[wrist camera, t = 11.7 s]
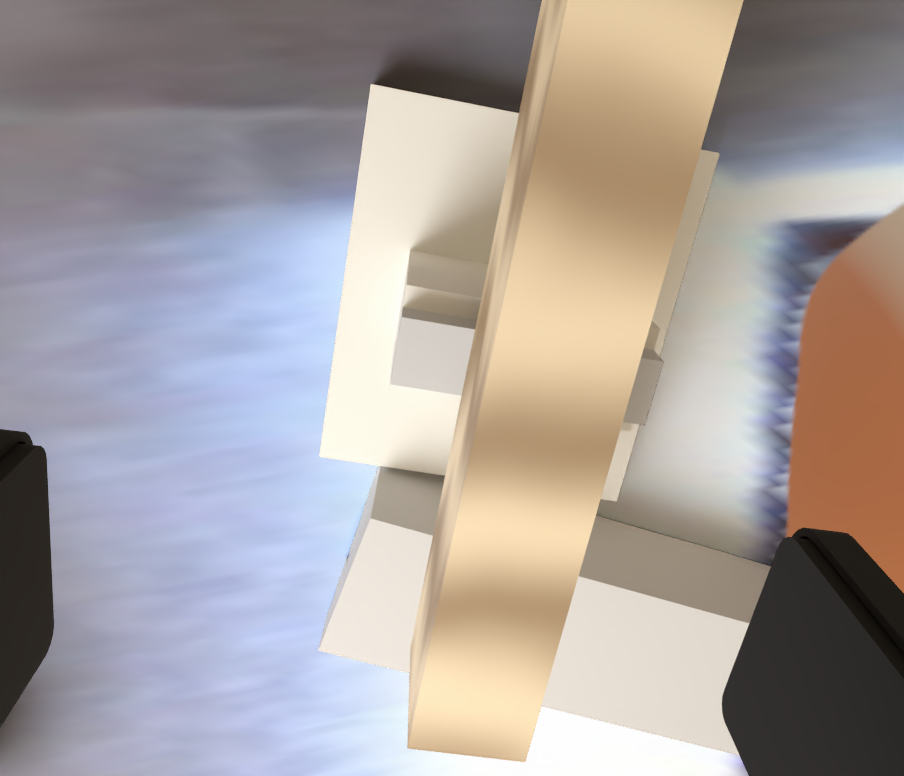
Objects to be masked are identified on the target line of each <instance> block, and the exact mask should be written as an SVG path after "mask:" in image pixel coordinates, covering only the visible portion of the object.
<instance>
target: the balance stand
mask: <svg viewBox="0 0 904 776" xmlns="http://www.w3.org/2000/svg"><path fill="white" fill-rule="evenodd" d="M518 116H519V113H516V112H511V111H506V110H501V109H496V108H491V107H486V106H481V105H476V104H471V103H466V102H461V101H456V100H451V99H446V98H441V97H435V96H430V95H425V94H420V93H415V92H410V91H405V90H400V89H395V88H390V87H385V86H380V85H375V84H371V88H370V95H369V102H368V109H367V116H366V124H365V131H364V138H363V145H362V152H361V160H360V167H359V174H358V181H357V188H356V196H355V203H354V210H353V217H352V224H351V232H350V239H349V246H348V253H347V261H346V268H345V275H344V282H343V289H342V297H341V304H340V311H339V318H338V325H337V333H336V340H335V347H334V354H333V361H332V369H331V376H330V383H329V390H328V397H327V405H326V412H325V419H324V426H323V434H322V441H321V448H320V455H319V457H325V458H331V459H338V460H344V461H351V462H358V463H364V464H371V465H377V466H384V467H391V468H397V469H404V470H411V471H417V472H424V473H430V474H437V475H444V476H445V474H446V469H447V465H448V460H449V455H450V450H451V445H452V440H453V435H454V430H455V425H456V420H457V415H458V411H459V406H460V401H461V396H462V391H463V386H464V381H465V376H466V371H467V366H468V361H469V357H470V352H471V347H472V342H473V337H474V332H475V327H476V322H477V317H478V312H479V307H480V302H481V298H482V293H483V288H484V283H485V278H486V273H487V268H488V263H489V258H490V253H491V248H492V244H493V239H494V234H495V229H496V224H497V219H498V214H499V209H500V204H501V199H502V194H503V190H504V185H505V180H506V175H507V170H508V165H509V160H510V155H511V150H512V145H513V140H514V135H515V131H516V126H517V121H518ZM719 155H720V153H717V152H712V151H708V150H703V149H701V151H700V154H699V158H698V161H697V164H696V168H695V171H694V175H693V178H692V182H691V185H690V189H689V192H688V196H687V199H686V203H685V206H684V210H683V213H682V217H681V220H680V224H679V227H678V231H677V234H676V238H675V241H674V245H673V248H672V252H671V255H670V259H669V262H668V266H667V269H666V273H665V276H664V280H663V283H662V287H661V290H660V294H659V297H658V301H657V304H656V308H655V311H654V314H653V318H652V321H651V325H650V328H649V332H648V335H647V339H646V342H645V346H644V349H643V353H642V356H641V360H640V363H639V367H638V370H637V374H636V377H635V381H634V384H633V388H632V391H631V395H630V398H629V402H628V405H627V409H626V412H625V416H624V419H623V423H622V426H621V430H620V433H619V437H618V440H617V444H616V447H615V451H614V454H613V458H612V461H611V464H610V468H609V471H608V475H607V478H606V482H605V485H604V489H603V492H602V496H601V499H602V500H609V501H615V502H617V499H618V495H619V492H620V489H621V485H622V482H623V479H624V475H625V472H626V468H627V465H628V462H629V458H630V455H631V452H632V448H633V445H634V441H635V438H636V435H637V431H638V428H639V425H645V422H646V419H647V416H648V412H649V409H650V406H651V402H652V399H653V396H654V392H655V389H656V386H657V382H658V379H659V376H660V372H661V369H662V366H663V362H664V361H663V360H662V359H661V358H660V354H661V350H662V347H663V344H664V340H665V337H666V334H667V330H668V327H669V323H670V320H671V317H672V313H673V310H674V307H675V303H676V300H677V296H678V293H679V290H680V286H681V283H682V280H683V276H684V273H685V269H686V266H687V263H688V259H689V256H690V253H691V249H692V246H693V242H694V239H695V236H696V232H697V229H698V226H699V222H700V219H701V215H702V212H703V209H704V205H705V202H706V199H707V195H708V192H709V188H710V185H711V182H712V178H713V175H714V172H715V168H716V165H717V161H718V158H719Z"/></svg>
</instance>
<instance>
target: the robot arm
mask: <svg viewBox="0 0 904 776" xmlns="http://www.w3.org/2000/svg"><path fill="white" fill-rule="evenodd" d="M53 630H54V615H53V593H52V570H51V547H50V524H49V501H48V479H47V459H46V453H45V450H44V448H42V447H41V446H35V445H33V443H32V440H31V438H30V436H29V435H28V434H27V433H26V432H19V431H11V430H3V429H0V727H1V725H2V724H3V722H4V721H5V719H6V717H7V716H8V714H9V713H10V711H11V710H12V708H13V706H14V705H15V703H16V702H17V700H18V699H19V697H20V695H21V694H22V692H23V691H24V689H25V687H26V686H27V684H28V683H29V681H30V680H31V678H32V676H33V675H34V673H35V672H36V670H37V669H38V667H39V665H40V664H41V662H42V661H43V659H44V657H45V655H46V654H47V652H48V649H49V646H50V644H51V640H52V636H53ZM722 713H723V718H724V721H725V724H726V726H727V729H728V731H729V733H730V735H731V737H732V740H733V742H734V744H735V746H736V748H737V751H738V753H739V755H740V757H741V759H742V761H743V764H744V766H745V768H746V770H747V772H748V775H749V776H904V593H903V592H902V591H901V590H900V589H899V588H898V587H897V586H896V585H895V583H894V582H893V581H892V580H891V579H890V578H889V577H888V576H887V575H886V574H885V572H884V571H883V570H882V569H881V568H880V567H879V566H878V565H877V564H876V562H875V561H874V560H873V559H872V558H871V557H870V556H869V555H868V554H867V552H865V550H864V549H863V548H862V547H861V546H860V545H859V544H858V543H857V542H856V540H855V539H854V538H853V537H852V536H850V535H849V534H847V533H842V532H834V531H826V530H817V529H810V528H802V529H799V530H798V531H796V532H795V533H794V535H793V536H792V537H787V538H784V539H783V540H782V541H781V543H780V545H779V547H778V549H777V552H776V554H775V557H774V560H773V562H772V565H771V568H770V570H769V573H768V575H767V578H766V581H765V583H764V586H763V589H762V591H761V594H760V597H759V599H758V602H757V605H756V607H755V610H754V612H753V615H752V618H751V620H750V623H749V626H748V628H747V631H746V634H745V636H744V639H743V641H742V644H741V647H740V649H739V652H738V655H737V657H736V660H735V663H734V665H733V668H732V671H731V673H730V676H729V678H728V681H727V684H726V686H725V689H724V692H723V696H722Z"/></svg>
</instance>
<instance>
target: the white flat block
mask: <svg viewBox="0 0 904 776" xmlns="http://www.w3.org/2000/svg"><path fill="white" fill-rule="evenodd" d="M444 479H445V476H444V475H437V474H430V473H424V472H417V471H411V470H404V469H397V468H391V467H384V466H378V468H377V471H376V474H375V476H374V479H373V482H372V485H371V488H370V491H369V494H368V497H367V500H366V503H365V507H364V510H363V513H362V516H361V519H360V522H359V526H358V529H357V532H356V534H355V537H354V539H353V542H352V544H351V548H350V553H349V557H347V558H346V561H345V564H344V567H343V570H342V573H341V576H340V578H339V581H338V584H337V587H336V591H335V595H334V598H333V600H332V603H331V605H330V608H329V611H328V613H327V617H326V621H325V625H324V629H323V633H322V637H321V642H320V646H319V650H318V651H322V652H326V653H330V654H334V655H338V656H342V657H346V658H350V659H354V660H358V661H362V662H366V663H370V664H374V665H378V666H382V667H386V668H390V669H394V670H398V671H402V672H406V673H410V646H411V641H412V636H413V632H414V627H415V622H416V617H417V612H418V607H419V602H420V597H421V592H422V587H423V582H424V577H425V573H426V568H427V563H428V558H429V553H430V548H431V543H432V538H433V533H434V528H435V523H436V519H437V514H438V509H439V504H440V499H441V494H442V489H443V484H444ZM770 568H771V566H768V565H765V564H761V563H758V562H755V561H751V560H748V559H745V558H741V557H738V556H735V555H731V554H728V553H725V552H721V551H718V550H715V549H711V548H708V547H705V546H701V545H698V544H694V543H691V542H687V541H684V540H680V539H676V538H673V537H669V536H665V535H662V534H658V533H655V532H651V531H648V530H644V529H641V528H637V527H634V526H631V525H627V524H624V523H620V522H617V521H613V520H610V519H606V518H603V517H600V516H596V517H595V520H594V524H593V527H592V531H591V534H590V538H589V541H588V545H587V548H586V552H585V555H584V559H583V562H582V566H581V569H580V573H579V576H578V580H577V583H576V587H575V590H574V594H573V597H572V601H571V604H570V608H569V611H568V614H567V618H566V621H565V625H564V628H563V632H562V635H561V639H560V642H559V646H558V649H557V653H556V656H555V660H554V663H553V667H552V670H551V674H550V677H549V681H548V684H547V688H546V691H545V695H544V698H543V702H542V705H541V706H543V707H547V708H551V709H555V710H559V711H563V712H567V713H571V714H575V715H579V716H583V717H587V718H591V719H595V720H599V721H603V722H607V723H611V724H615V725H619V726H623V727H627V728H631V729H635V730H639V731H643V732H647V733H651V734H655V735H659V736H663V737H667V738H671V739H676V740H680V741H684V742H688V743H692V744H696V745H700V746H704V747H708V748H712V749H716V750H720V751H724V752H728V753H732V754H736V755H739V753H738V751H737V748H736V746H735V744H734V742H733V740H732V737H731V735H730V733H729V731H728V729H727V726H726V724H725V721H724V718H723V713H722V696H723V692H724V689H725V686H726V684H727V681H728V678H729V676H730V673H731V671H732V668H733V665H734V663H735V660H736V657H737V655H738V652H739V649H740V647H741V644H742V641H743V639H744V636H745V634H746V631H747V628H748V626H749V623H750V620H751V618H752V615H753V612H754V610H755V607H756V605H757V602H758V599H759V597H760V594H761V591H762V589H763V586H764V583H765V581H766V578H767V575H768V573H769V570H770Z"/></svg>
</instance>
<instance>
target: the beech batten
mask: <svg viewBox="0 0 904 776" xmlns="http://www.w3.org/2000/svg"><path fill="white" fill-rule="evenodd" d="M743 1H744V0H542V3H541V8H540V13H539V18H538V23H537V27H536V32H535V37H534V42H533V47H532V52H531V57H530V62H529V67H528V72H527V77H526V81H525V86H524V91H523V96H522V101H521V106H520V111H519V116H518V121H517V126H516V131H515V135H514V140H513V145H512V150H511V155H510V160H509V165H508V170H507V175H506V180H505V185H504V190H503V194H502V199H501V204H500V209H499V214H498V219H497V224H496V229H495V234H494V239H493V244H492V248H491V253H490V258H489V263H488V268H487V273H486V278H485V283H484V288H483V293H482V298H481V302H480V307H479V312H478V317H477V322H476V327H475V332H474V337H473V342H472V347H471V352H470V357H469V361H468V366H467V371H466V376H465V381H464V386H463V391H462V396H461V401H460V406H459V411H458V415H457V420H456V425H455V430H454V435H453V440H452V445H451V450H450V455H449V460H448V465H447V469H446V474H445V479H444V484H443V489H442V494H441V499H440V504H439V509H438V514H437V519H436V523H435V528H434V533H433V538H432V543H431V548H430V553H429V558H428V563H427V568H426V573H425V577H424V582H423V587H422V592H421V597H420V602H419V607H418V612H417V617H416V622H415V627H414V632H413V636H412V641H411V646H410V678H409V713H408V748H409V749H417V750H426V751H435V752H443V753H452V754H460V755H469V756H477V757H486V758H495V759H503V760H512V761H520V762H525V761H526V758H527V754H528V751H529V747H530V744H531V740H532V737H533V733H534V730H535V726H536V723H537V719H538V716H539V712H540V709H541V705H542V702H543V698H544V695H545V691H546V688H547V684H548V681H549V677H550V674H551V670H552V667H553V663H554V660H555V656H556V653H557V649H558V646H559V642H560V639H561V635H562V632H563V628H564V625H565V621H566V618H567V614H568V611H569V608H570V604H571V601H572V597H573V594H574V590H575V587H576V583H577V580H578V576H579V573H580V569H581V566H582V562H583V559H584V555H585V552H586V548H587V545H588V541H589V538H590V534H591V531H592V527H593V524H594V520H595V517H596V513H597V510H598V506H599V503H600V499H601V496H602V492H603V489H604V485H605V482H606V478H607V475H608V471H609V468H610V464H611V461H612V458H613V454H614V451H615V447H616V444H617V440H618V437H619V433H620V430H621V426H622V423H623V419H624V416H625V412H626V409H627V405H628V402H629V398H630V395H631V391H632V388H633V384H634V381H635V377H636V374H637V370H638V367H639V363H640V360H641V356H642V353H643V349H644V346H645V342H646V339H647V335H648V332H649V328H650V325H651V321H652V318H653V314H654V311H655V308H656V304H657V301H658V297H659V294H660V290H661V287H662V283H663V280H664V276H665V273H666V269H667V266H668V262H669V259H670V255H671V252H672V248H673V245H674V241H675V238H676V234H677V231H678V227H679V224H680V220H681V217H682V213H683V210H684V206H685V203H686V199H687V196H688V192H689V189H690V185H691V182H692V178H693V175H694V171H695V168H696V164H697V161H698V158H699V154H700V151H701V147H702V144H703V140H704V137H705V133H706V130H707V126H708V123H709V119H710V116H711V112H712V109H713V105H714V102H715V98H716V95H717V91H718V88H719V84H720V81H721V77H722V74H723V70H724V67H725V63H726V60H727V56H728V53H729V49H730V46H731V42H732V39H733V35H734V32H735V28H736V25H737V21H738V18H739V14H740V11H741V8H742V4H743Z"/></svg>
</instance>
